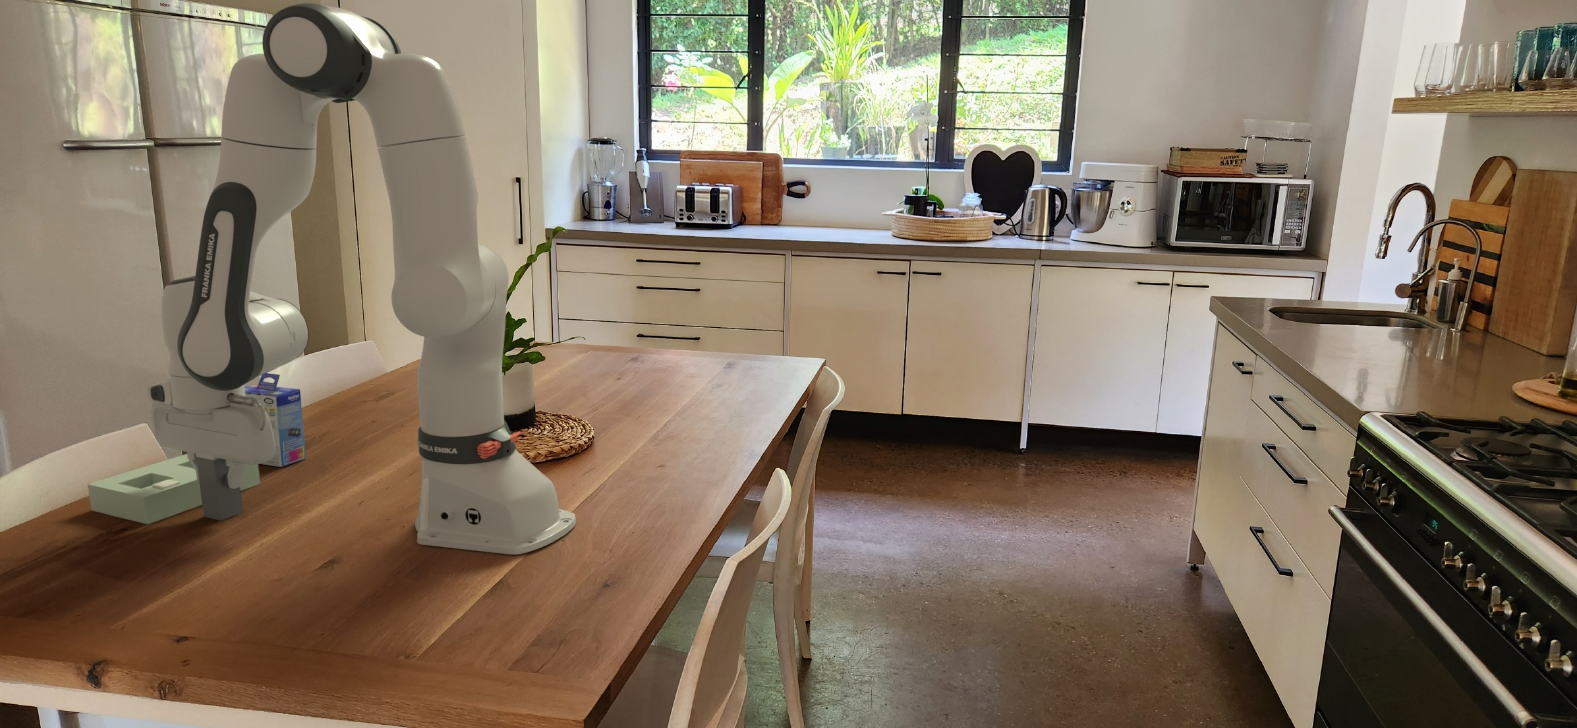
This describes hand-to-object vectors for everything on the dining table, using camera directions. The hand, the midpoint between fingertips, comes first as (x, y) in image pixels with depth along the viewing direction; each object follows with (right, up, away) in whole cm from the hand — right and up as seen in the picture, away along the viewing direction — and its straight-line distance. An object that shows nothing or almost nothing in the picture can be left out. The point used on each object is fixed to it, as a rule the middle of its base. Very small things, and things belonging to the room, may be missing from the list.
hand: (219, 483), depth 141 cm
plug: (0, -5, +1) cm, 5 cm away
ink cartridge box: (-5, +1, +24) cm, 25 cm away
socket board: (-10, -3, +7) cm, 13 cm away
